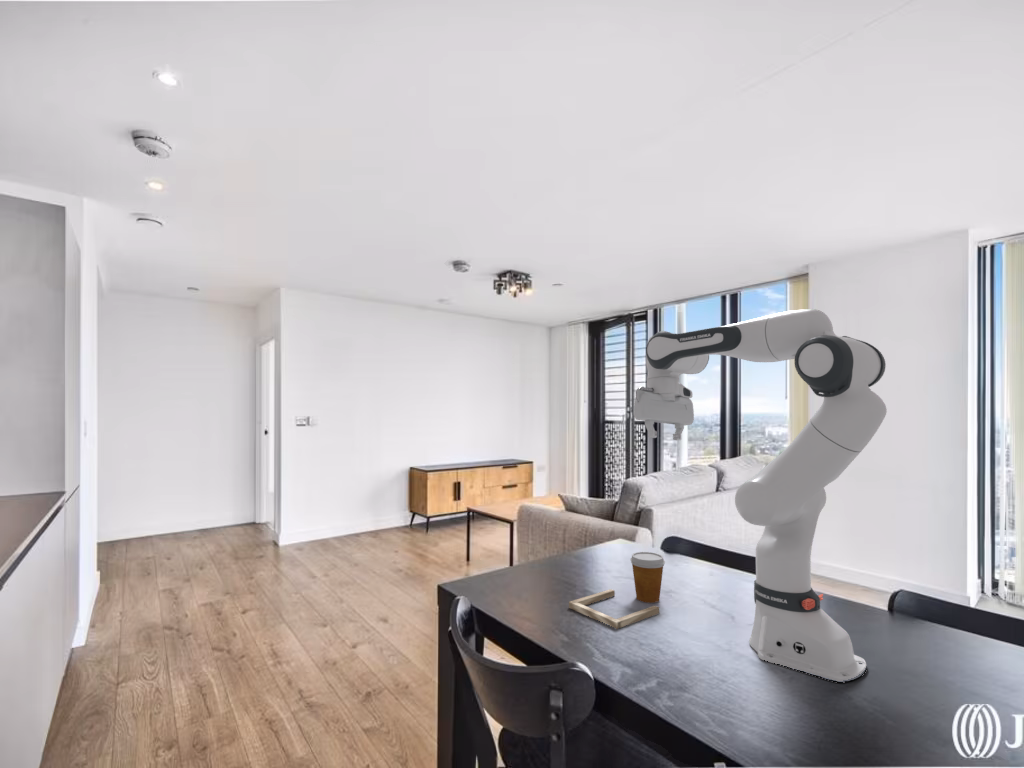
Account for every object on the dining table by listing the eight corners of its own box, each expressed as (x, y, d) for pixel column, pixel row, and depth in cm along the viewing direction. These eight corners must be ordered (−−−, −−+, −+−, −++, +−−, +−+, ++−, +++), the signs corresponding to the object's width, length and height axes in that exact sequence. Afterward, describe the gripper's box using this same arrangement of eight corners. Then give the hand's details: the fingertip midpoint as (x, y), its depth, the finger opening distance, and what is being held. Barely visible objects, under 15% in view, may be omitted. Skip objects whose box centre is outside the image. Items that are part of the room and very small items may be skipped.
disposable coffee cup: (669, 605, 143) (669, 561, 144) (634, 605, 144) (634, 560, 144) (660, 593, 153) (659, 551, 153) (627, 592, 153) (627, 551, 154)
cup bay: (659, 613, 138) (659, 607, 138) (616, 629, 128) (616, 622, 128) (610, 594, 151) (610, 589, 152) (568, 607, 142) (568, 601, 142)
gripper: (644, 383, 141) (646, 435, 138) (696, 392, 151) (699, 440, 148) (627, 387, 146) (629, 437, 143) (679, 395, 156) (681, 442, 153)
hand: (665, 438), depth 145 cm, fingers open, 8 cm apart
